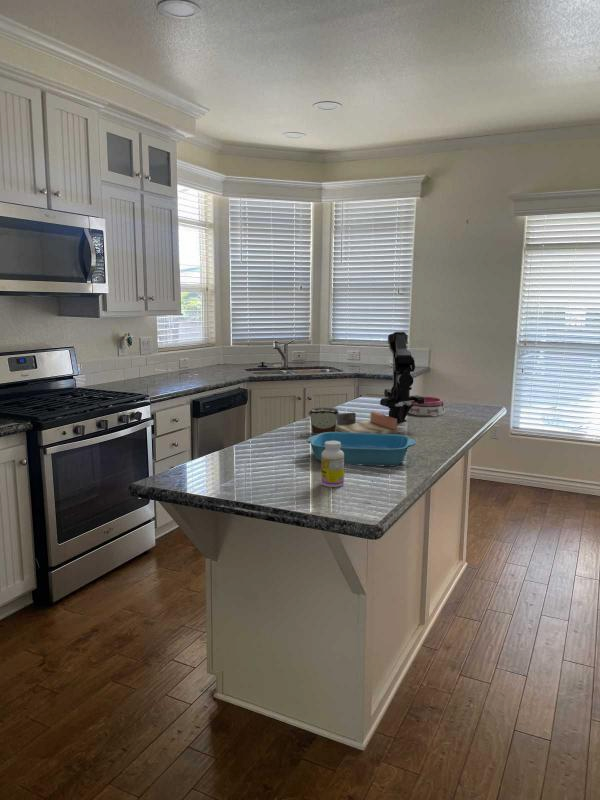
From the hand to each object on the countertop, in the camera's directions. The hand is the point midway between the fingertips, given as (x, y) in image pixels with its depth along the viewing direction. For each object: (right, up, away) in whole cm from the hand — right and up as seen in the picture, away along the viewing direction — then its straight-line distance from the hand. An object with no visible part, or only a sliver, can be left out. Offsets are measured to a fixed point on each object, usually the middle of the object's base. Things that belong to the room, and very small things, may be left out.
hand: (402, 421), depth 247 cm
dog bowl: (+18, +2, +38) cm, 42 cm away
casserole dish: (-22, -12, -44) cm, 50 cm away
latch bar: (-8, -1, +2) cm, 8 cm away
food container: (-33, -5, -4) cm, 33 cm away
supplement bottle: (-33, -16, -72) cm, 81 cm away
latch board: (-15, -4, 0) cm, 15 cm away
